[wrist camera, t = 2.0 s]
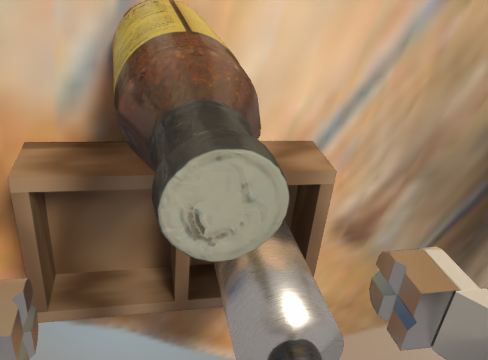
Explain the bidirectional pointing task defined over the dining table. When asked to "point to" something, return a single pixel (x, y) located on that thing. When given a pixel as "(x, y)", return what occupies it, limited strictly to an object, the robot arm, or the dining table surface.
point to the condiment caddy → (131, 229)
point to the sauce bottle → (196, 132)
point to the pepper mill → (277, 304)
